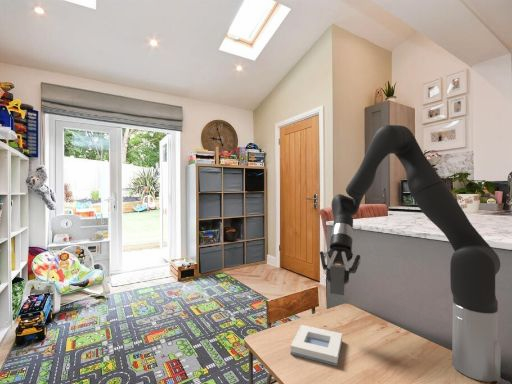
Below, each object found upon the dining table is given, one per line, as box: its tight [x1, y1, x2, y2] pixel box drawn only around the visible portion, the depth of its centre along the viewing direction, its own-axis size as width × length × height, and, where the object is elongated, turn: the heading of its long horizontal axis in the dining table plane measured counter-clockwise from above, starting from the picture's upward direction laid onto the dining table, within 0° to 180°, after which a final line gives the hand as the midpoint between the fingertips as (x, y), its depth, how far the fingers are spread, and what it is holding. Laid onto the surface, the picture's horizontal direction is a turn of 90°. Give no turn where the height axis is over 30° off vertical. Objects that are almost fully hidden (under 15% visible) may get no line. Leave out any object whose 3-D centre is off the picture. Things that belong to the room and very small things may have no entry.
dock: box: [290, 324, 343, 367], centre depth 81 cm, size 13×13×2 cm
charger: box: [329, 263, 346, 296], centre depth 88 cm, size 4×4×9 cm
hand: (337, 281), depth 86 cm, fingers closed on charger, 4 cm apart
